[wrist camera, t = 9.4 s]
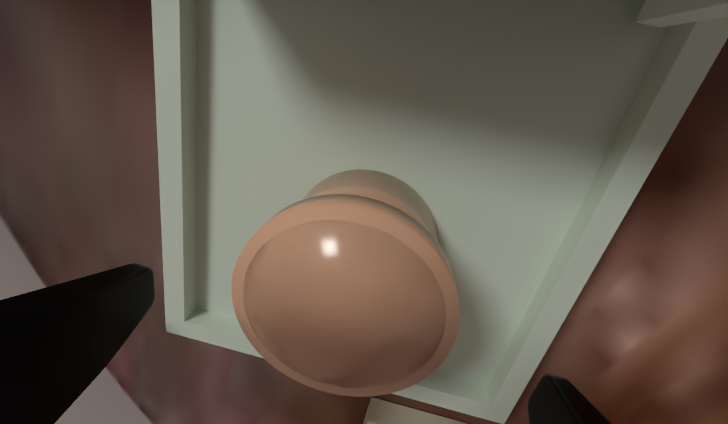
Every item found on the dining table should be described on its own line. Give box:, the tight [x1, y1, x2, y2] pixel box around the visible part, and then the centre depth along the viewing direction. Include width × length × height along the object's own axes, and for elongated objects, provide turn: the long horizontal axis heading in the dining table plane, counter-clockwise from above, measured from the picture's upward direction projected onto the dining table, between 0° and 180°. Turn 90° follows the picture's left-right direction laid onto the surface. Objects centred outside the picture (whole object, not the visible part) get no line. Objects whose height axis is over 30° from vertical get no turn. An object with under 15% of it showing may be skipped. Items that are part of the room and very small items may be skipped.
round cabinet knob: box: [231, 169, 460, 397], centre depth 10 cm, size 6×6×4 cm
